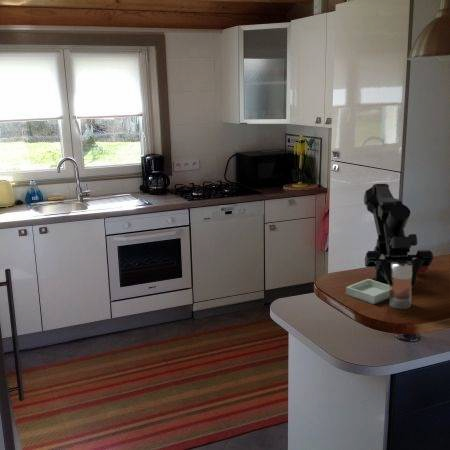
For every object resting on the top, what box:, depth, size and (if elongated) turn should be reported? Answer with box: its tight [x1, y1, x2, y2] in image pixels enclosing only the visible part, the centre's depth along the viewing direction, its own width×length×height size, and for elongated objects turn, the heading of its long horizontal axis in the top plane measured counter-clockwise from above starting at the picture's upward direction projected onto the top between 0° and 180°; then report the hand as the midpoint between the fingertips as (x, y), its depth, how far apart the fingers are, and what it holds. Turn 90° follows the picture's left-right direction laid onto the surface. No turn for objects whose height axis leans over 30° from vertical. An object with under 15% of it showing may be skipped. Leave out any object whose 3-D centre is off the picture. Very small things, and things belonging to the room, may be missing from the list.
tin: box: [389, 261, 413, 310], centre depth 157 cm, size 6×6×12 cm
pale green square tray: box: [345, 278, 390, 305], centre depth 167 cm, size 11×11×2 cm
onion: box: [409, 261, 430, 276], centre depth 181 cm, size 6×6×8 cm
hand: (401, 285), depth 156 cm, fingers closed on tin, 6 cm apart
